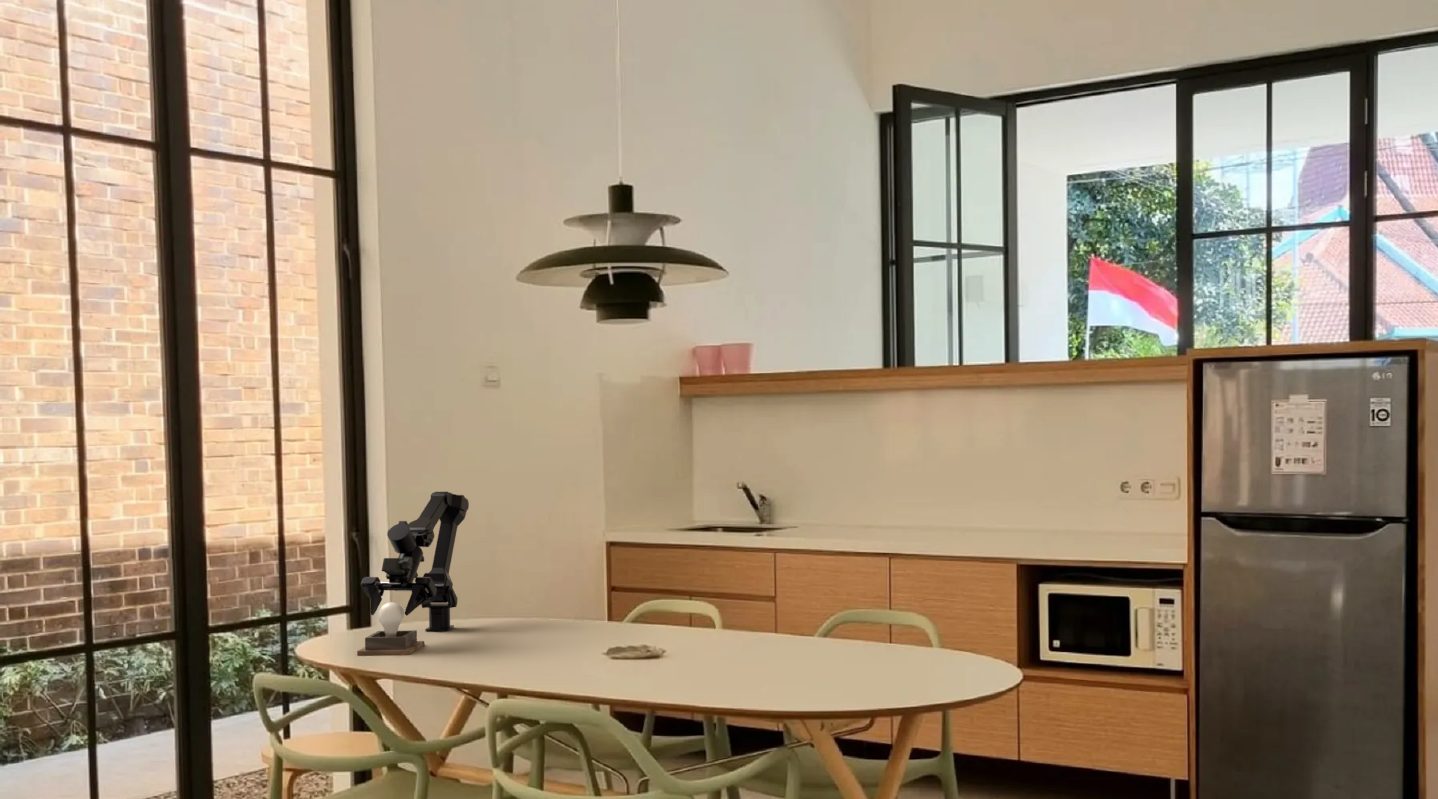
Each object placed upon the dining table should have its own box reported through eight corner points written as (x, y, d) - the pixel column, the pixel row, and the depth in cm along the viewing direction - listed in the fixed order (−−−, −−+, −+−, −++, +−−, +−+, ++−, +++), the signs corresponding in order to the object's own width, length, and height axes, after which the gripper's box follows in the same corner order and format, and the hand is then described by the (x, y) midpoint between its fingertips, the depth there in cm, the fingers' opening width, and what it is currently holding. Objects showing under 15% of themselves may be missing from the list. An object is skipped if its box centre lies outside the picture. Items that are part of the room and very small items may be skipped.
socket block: (374, 645, 307) (374, 630, 307) (424, 644, 306) (424, 629, 307) (357, 655, 294) (357, 639, 294) (409, 654, 294) (409, 638, 294)
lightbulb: (387, 649, 296) (387, 605, 296) (372, 646, 300) (372, 602, 300) (409, 645, 301) (409, 601, 301) (394, 642, 305) (394, 599, 305)
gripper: (363, 545, 307) (342, 594, 295) (431, 545, 303) (413, 595, 292) (377, 572, 314) (358, 621, 303) (444, 572, 311) (427, 622, 300)
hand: (388, 614), depth 299 cm, fingers open, 9 cm apart
